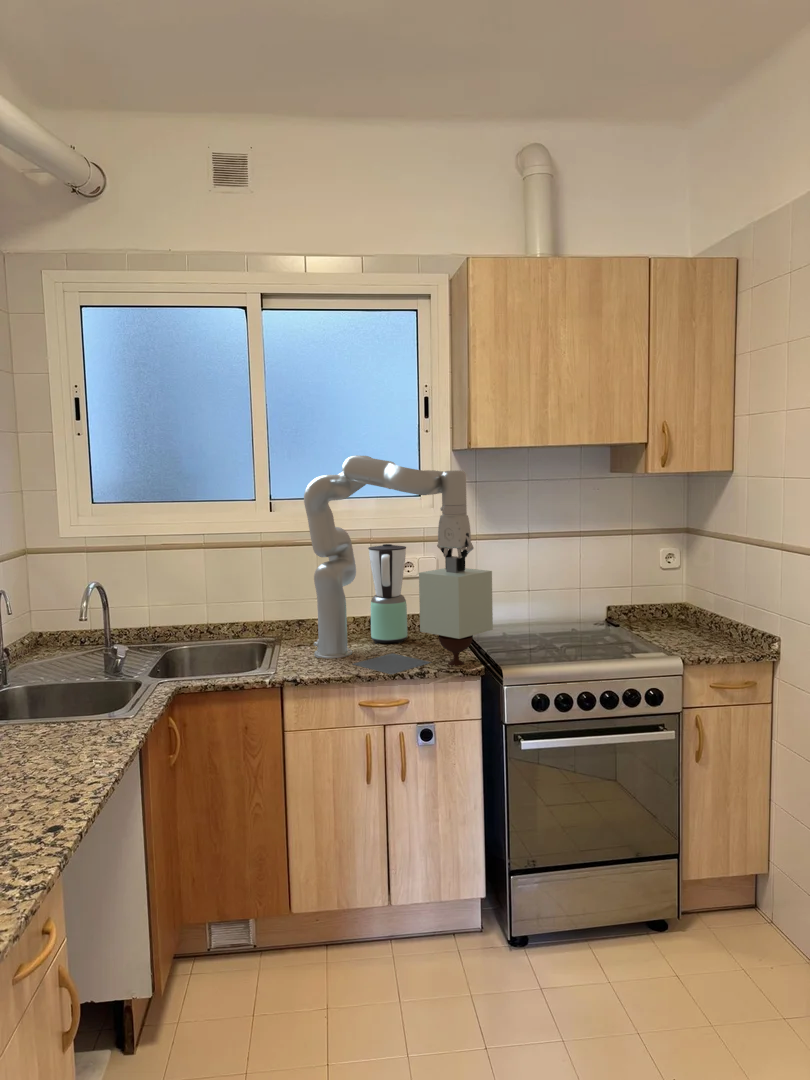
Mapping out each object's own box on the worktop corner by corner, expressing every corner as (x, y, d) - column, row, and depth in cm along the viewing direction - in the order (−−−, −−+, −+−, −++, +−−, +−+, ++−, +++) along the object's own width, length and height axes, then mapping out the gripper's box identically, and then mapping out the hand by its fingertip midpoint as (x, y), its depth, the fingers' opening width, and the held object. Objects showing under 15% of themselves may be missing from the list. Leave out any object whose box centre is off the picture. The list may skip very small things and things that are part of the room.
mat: (351, 665, 232) (351, 664, 232) (392, 654, 245) (392, 653, 245) (391, 676, 219) (391, 674, 219) (432, 664, 232) (432, 662, 232)
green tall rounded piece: (372, 636, 272) (370, 542, 269) (408, 636, 272) (406, 542, 269) (368, 649, 253) (365, 548, 250) (407, 648, 253) (405, 547, 250)
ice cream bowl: (473, 660, 235) (472, 614, 234) (473, 670, 224) (472, 621, 223) (440, 660, 236) (439, 614, 235) (438, 669, 225) (437, 621, 224)
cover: (420, 631, 229) (418, 558, 227) (453, 623, 240) (452, 553, 238) (459, 638, 218) (457, 561, 216) (492, 629, 229) (491, 556, 227)
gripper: (426, 511, 229) (427, 569, 231) (467, 512, 217) (468, 573, 219) (442, 509, 234) (443, 566, 236) (483, 510, 222) (484, 570, 224)
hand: (455, 569), depth 227 cm, fingers closed on cover, 4 cm apart
